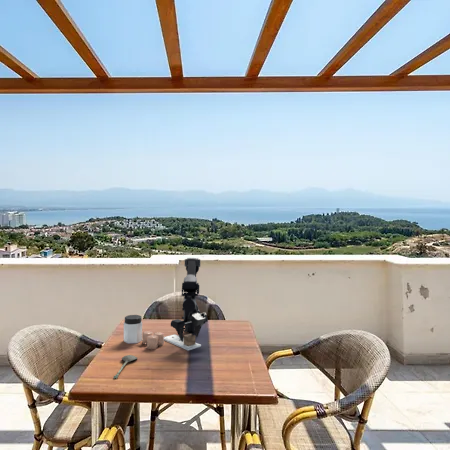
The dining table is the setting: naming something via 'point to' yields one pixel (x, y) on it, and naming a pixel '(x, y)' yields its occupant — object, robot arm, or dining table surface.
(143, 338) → the peach rounded piece
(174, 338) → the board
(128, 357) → the soupspoon
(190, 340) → the brown cube
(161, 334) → the peach rounded capsule
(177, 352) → the dining table surface
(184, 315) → the robot arm
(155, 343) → the peach rounded blob
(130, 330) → the jar
